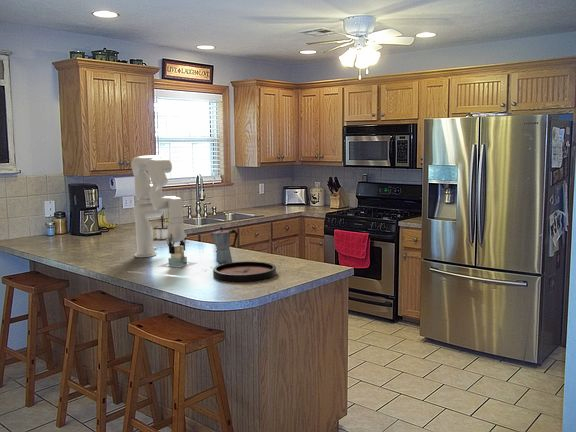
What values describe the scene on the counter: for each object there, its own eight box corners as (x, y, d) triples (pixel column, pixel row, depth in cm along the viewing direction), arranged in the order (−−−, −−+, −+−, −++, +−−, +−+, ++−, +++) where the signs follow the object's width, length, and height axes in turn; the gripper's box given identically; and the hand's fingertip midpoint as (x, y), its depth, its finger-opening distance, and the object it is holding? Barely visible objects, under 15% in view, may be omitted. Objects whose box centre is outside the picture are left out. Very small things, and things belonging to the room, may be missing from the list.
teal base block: (176, 262, 307) (175, 255, 306) (187, 263, 304) (186, 256, 304) (168, 265, 301) (168, 258, 300) (179, 266, 298) (179, 259, 297)
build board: (173, 262, 313) (173, 260, 312) (198, 264, 306) (198, 262, 306) (157, 268, 299) (157, 266, 299) (182, 270, 292) (182, 268, 292)
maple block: (176, 256, 305) (175, 245, 304) (184, 256, 303) (183, 245, 303) (171, 257, 301) (170, 246, 300) (178, 258, 299) (178, 247, 298)
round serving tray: (241, 278, 257) (200, 268, 279) (242, 286, 258) (200, 276, 279) (288, 266, 280) (246, 258, 301) (289, 274, 280) (247, 266, 302)
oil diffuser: (174, 241, 385) (173, 217, 383) (140, 242, 386) (139, 217, 384) (183, 235, 411) (182, 212, 409) (151, 236, 412) (150, 213, 410)
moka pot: (209, 262, 312) (207, 226, 310) (235, 259, 318) (234, 224, 315) (213, 265, 304) (211, 229, 301) (240, 262, 309) (239, 227, 306)
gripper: (179, 218, 309) (180, 248, 311) (160, 222, 293) (161, 254, 295) (190, 218, 306) (192, 249, 308) (172, 223, 290) (173, 255, 292)
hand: (177, 251), depth 302 cm, fingers open, 9 cm apart
